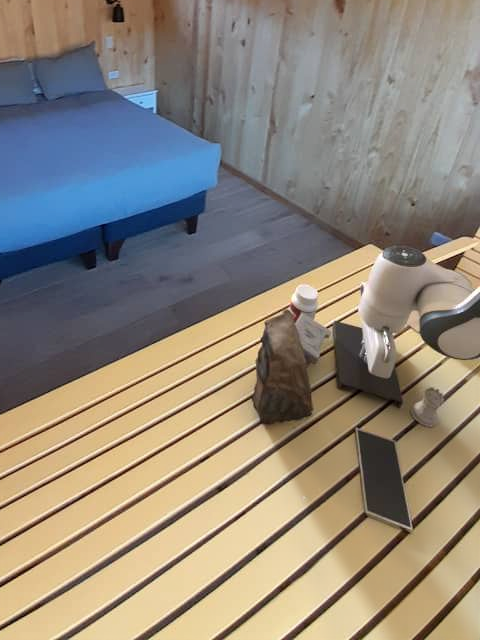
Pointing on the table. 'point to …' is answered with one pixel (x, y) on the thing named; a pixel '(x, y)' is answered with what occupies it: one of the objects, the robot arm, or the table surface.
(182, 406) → the table surface
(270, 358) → the brown rock
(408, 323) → the jar
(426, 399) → the rook chess piece
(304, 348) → the incense holder
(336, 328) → the lid
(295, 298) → the pill bottle
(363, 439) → the phone
